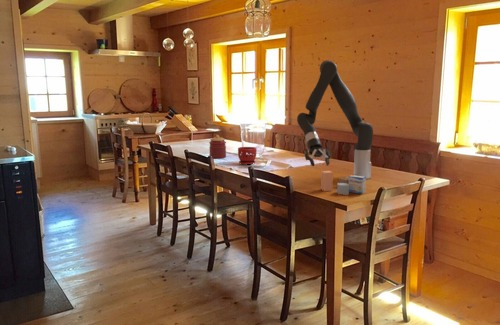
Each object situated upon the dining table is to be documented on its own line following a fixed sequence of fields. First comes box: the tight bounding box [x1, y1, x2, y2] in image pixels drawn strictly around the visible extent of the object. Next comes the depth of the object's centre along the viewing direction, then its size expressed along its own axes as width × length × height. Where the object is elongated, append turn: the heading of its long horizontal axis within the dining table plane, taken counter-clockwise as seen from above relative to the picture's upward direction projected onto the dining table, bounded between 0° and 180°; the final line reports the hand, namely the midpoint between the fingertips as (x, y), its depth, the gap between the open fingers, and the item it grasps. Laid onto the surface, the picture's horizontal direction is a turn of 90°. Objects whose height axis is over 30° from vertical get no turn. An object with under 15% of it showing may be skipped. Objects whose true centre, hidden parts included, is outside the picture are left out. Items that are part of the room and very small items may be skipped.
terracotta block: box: [320, 170, 334, 192], centre depth 229 cm, size 4×4×10 cm
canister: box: [208, 134, 227, 160], centre depth 332 cm, size 13×13×18 cm
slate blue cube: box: [336, 182, 350, 196], centre depth 222 cm, size 5×5×5 cm
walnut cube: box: [339, 176, 349, 185], centre depth 235 cm, size 5×5×5 cm
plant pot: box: [237, 146, 257, 166], centre depth 304 cm, size 13×13×12 cm
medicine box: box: [348, 174, 367, 195], centre depth 224 cm, size 8×4×9 cm, turn 56°
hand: (320, 165), depth 235 cm, fingers open, 8 cm apart
